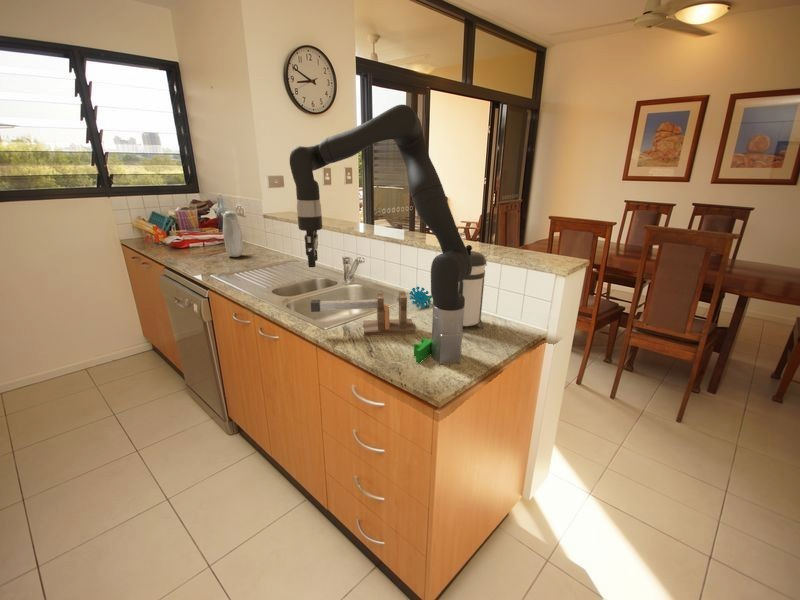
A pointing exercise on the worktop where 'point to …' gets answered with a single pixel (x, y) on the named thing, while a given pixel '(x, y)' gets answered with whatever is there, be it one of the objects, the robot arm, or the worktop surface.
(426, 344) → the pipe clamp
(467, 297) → the coffee press
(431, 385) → the worktop surface
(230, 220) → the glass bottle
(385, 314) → the spacer
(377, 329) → the stand
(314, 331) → the worktop surface
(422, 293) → the teal spiky round piece
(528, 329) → the worktop surface
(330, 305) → the shaft
